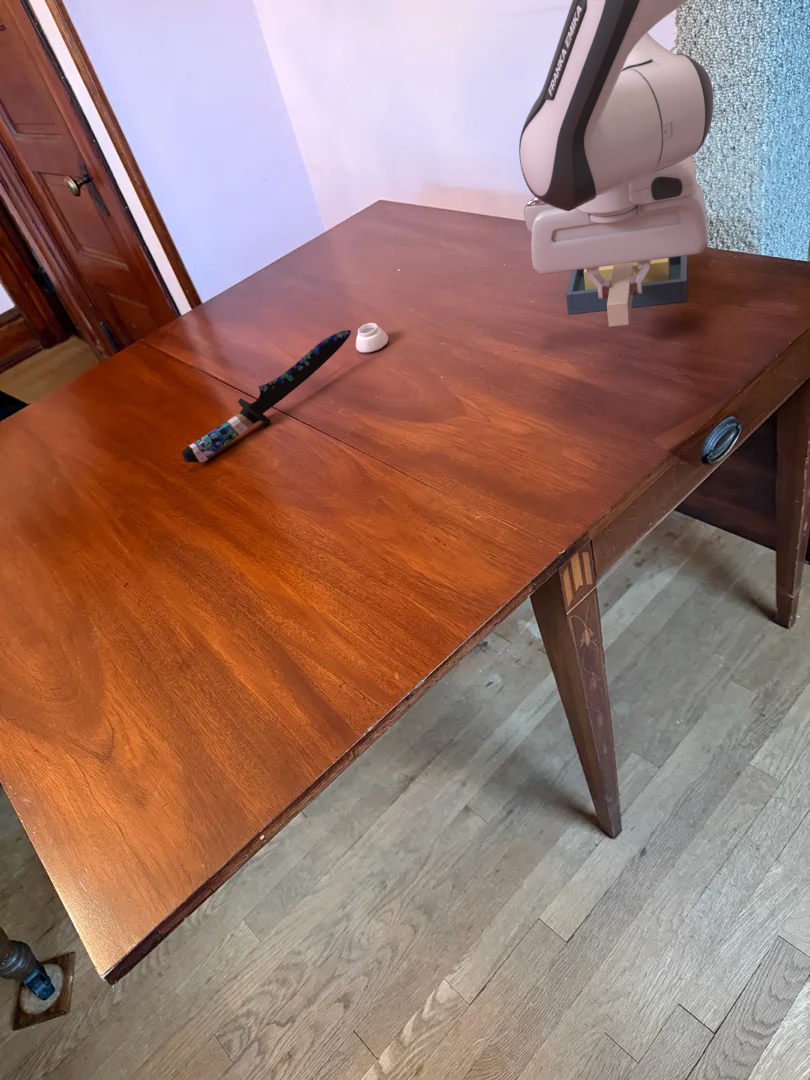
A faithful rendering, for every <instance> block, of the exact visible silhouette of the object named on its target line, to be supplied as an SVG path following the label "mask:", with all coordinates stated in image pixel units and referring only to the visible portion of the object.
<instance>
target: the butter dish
mask: <svg viewBox="0 0 810 1080" xmlns="http://www.w3.org/2000/svg"><path fill="white" fill-rule="evenodd" d="M669 263H670V276H669V280H665V281H657V282H648V283H643V291H642V294H637V295H633V296H632V305H631V308H639V307H649V306H656V305H667V304H676V303H685V302H688V255H686V256H678V257H671V258H669ZM567 284H568V285H567V289H566V293H565V299H566V306H567V312H568V313H567V314H568V315H575V314H584V313H592V312H593V313H594V312H603V311H607V302H608V298H603V299H599V296H598V289H590V290H586V289H585V279H584V269H580V270H572V271H570V276H569V279H568V283H567Z"/></svg>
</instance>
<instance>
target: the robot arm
mask: <svg viewBox="0 0 810 1080" xmlns="http://www.w3.org/2000/svg"><path fill="white" fill-rule="evenodd" d="M689 1H690V0H572V1H571V4H570V7H569V10H568V13H567V16H566V19H565V22H564V24H563V28H562V31H561V33H560V36H559V39H558V43H557V46H556V49H555V52H554V55H553V58H552V60H551V63H550V66H549V70H548V72H547V75H546V78H545V81H544V84H543V86H542V89H541V91H540V93H539V95H538V97H537V98H536V100H535V101H534V103H533V105H532V107H531V109H530V111H529V112H528V114H527V117H526V119H525V122H524V124H523V126H522V130H521V133H520V137H519V142H518V143H519V144H518V155H519V163H520V169H521V173H522V176H523V179H524V182H525V184H526V186H527V188H528V190H529V191H530V193H531V194H532V195H533V196H534V197H533V198H532V199H530V200H529V201H528V202H527V203H526V205H525V206H524V209H523V214H524V222H525V226H526V229H527V230H528V231H529V232H530V233H531V238H530V239H531V241H530V242H531V243H530V244H531V247H530V248H531V263H532V268H533V270H534V271H536V272H537V273H538V274H539V275H549V274H557V273H565V272H571V271H572V270H580V269H586V270H587V277H588V278H589V279H590V280H591V281H592V282H593V284H594V285H595V286H596V287H598V296H599V299H603V298H608V295H609V289H610V284H611V279H605V280H604V279H603V277H602V276H601V275H600V273H599V268H600V267H603V266H610V265H618V264H625V263H633V262H638V269H640V270H639V272H638V274H637V276H630V281H629V287H630V295H637V294H642V291H643V282H642V281H643V280H644V278H645V276H646V274H647V273H648V271H649V269H650V263H651V260H656V259H663V258H671V257H678V256H686V255H687V256H693V255H699V254H701V253H702V252H703V251H704V250H706V248H707V246H708V244H709V232H708V231H709V228H708V215H707V209H706V201H705V197H704V192H703V190H702V187H701V186H700V184H699V183H698V182H697V179H696V178H697V168H696V167H697V166H696V163H695V161H694V158H693V156H694V155H696V154H698V152H699V151H700V149H701V148H702V146H703V145H704V143H705V141H706V139H707V137H708V135H709V131H710V127H711V124H712V120H713V115H714V91H713V84H712V80H711V78H710V75H709V74H708V72H707V70H706V69H705V68H704V67H703V66H702V65H701V64H700V62H697V61H696V60H695V59H694V58H692V57H690V56H689V55H687V54H685V53H673V52H672V51H670V50H669V49H667V48H666V47H664V46H663V45H662V44H660V43H659V42H658V41H657V40H656V39H654V38H653V36H651V34H650V33H649V32H650V31H651V30H652V29H653V28H654V27H655V26H657V24H659V23H660V22H661V21H662V20H664V19H665V18H666V17H668V16H669V15H670V14H671V13H673V12H674V11H676V10H677V9H678V8H681V6H683V5H684V4H686V3H687V2H689Z"/></svg>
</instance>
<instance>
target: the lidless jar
mask: <svg viewBox="0 0 810 1080" xmlns="http://www.w3.org/2000/svg"><path fill="white" fill-rule="evenodd" d="M388 341H389V336H388V334H387V333H386V332H385V331H384V330H383V329H382V328H381V327H379V326H378V324H377V323H375V322H369V323H368V322H367V323H365V324H363V325H361V326H360V327H358V329H357V335H356V340H355V348H356V350H357V351H358V352H360V353H372V352H375V351H378V350H380V349H382V348H383V347H385V345H387V344H388Z"/></svg>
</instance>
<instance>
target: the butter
mask: <svg viewBox="0 0 810 1080" xmlns="http://www.w3.org/2000/svg"><path fill="white" fill-rule="evenodd" d="M639 270H640V269H638V262H633V276H637V274H638V272H639ZM612 271H613V265H610V266H603V267H600V268H599V273H600V275H601V276H602V277H603V279H604V280H605V279H611V277H612ZM669 276H670V263H669V258H663V259H656V260H651V263H650V269H649V271H648V273H647V274H646V276H645V278H644V280H643V281H642V282H643V283H648V282H657V281H665V280H669ZM584 279H585V289H586V290H590V289H598V287H596V286H595V285H594V284H593V282H592V281H591V280H590V279H589V278H588V277H587V270H586V269H584Z"/></svg>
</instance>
